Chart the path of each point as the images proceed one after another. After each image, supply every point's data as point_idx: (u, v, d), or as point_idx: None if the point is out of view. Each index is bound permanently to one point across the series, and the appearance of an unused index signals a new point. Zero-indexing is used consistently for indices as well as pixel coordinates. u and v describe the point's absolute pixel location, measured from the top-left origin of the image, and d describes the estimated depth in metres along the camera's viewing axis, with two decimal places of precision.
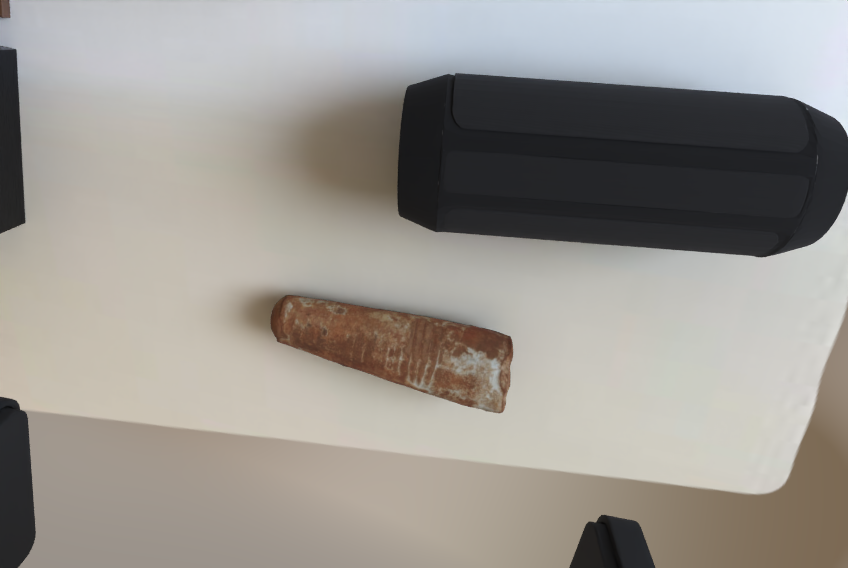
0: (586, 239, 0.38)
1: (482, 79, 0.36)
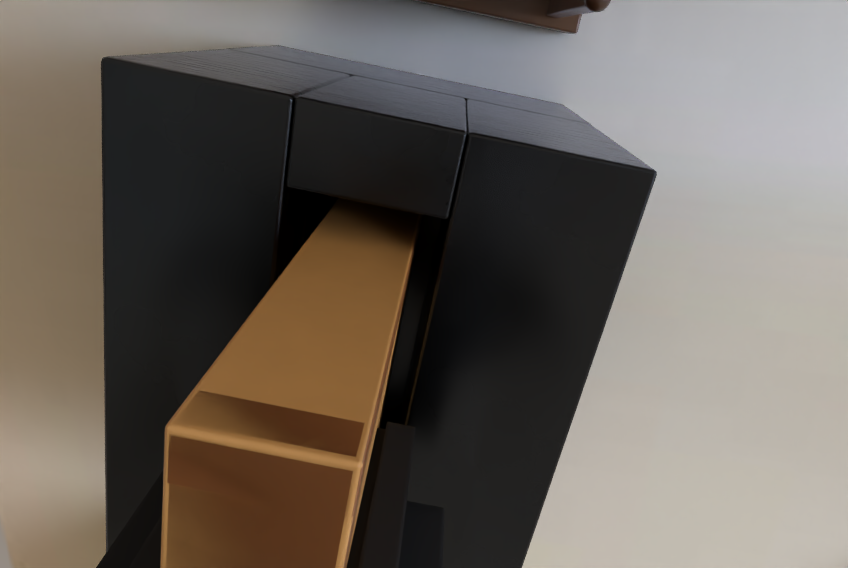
0: None
1: None
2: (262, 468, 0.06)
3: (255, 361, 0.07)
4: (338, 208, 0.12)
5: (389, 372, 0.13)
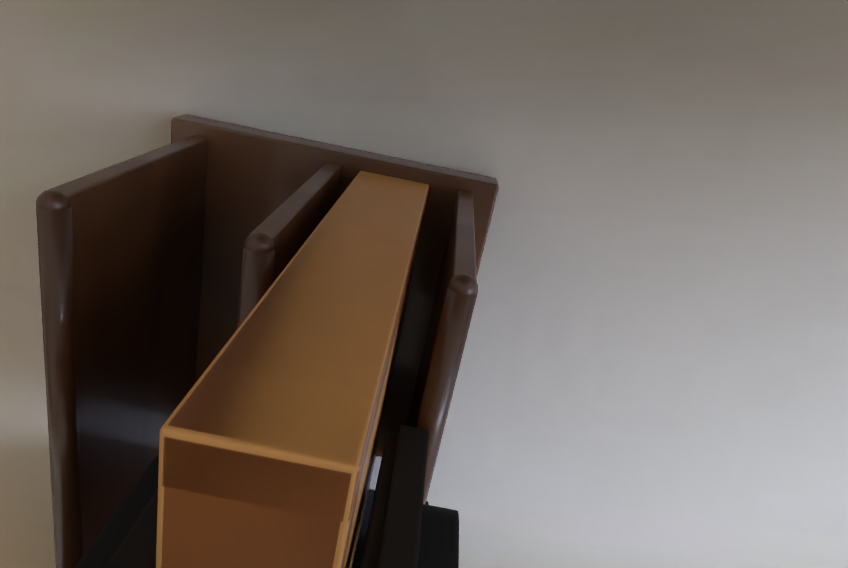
0: None
1: None
2: (257, 474, 0.05)
3: (252, 363, 0.07)
4: (338, 208, 0.12)
5: (389, 373, 0.13)
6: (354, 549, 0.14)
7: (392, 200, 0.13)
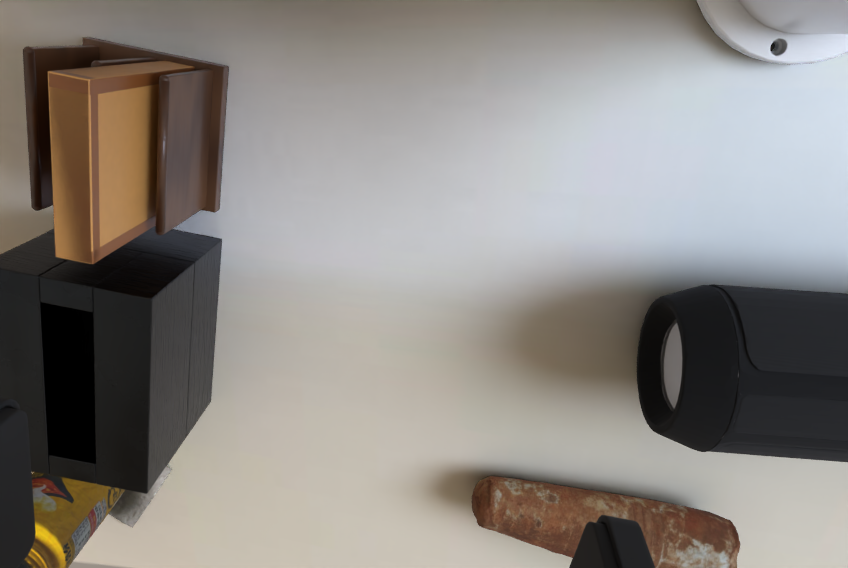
0: None
1: (764, 304, 0.34)
2: (68, 82, 0.26)
3: (75, 71, 0.27)
4: (137, 63, 0.33)
5: None
6: (153, 207, 0.34)
7: (165, 66, 0.34)
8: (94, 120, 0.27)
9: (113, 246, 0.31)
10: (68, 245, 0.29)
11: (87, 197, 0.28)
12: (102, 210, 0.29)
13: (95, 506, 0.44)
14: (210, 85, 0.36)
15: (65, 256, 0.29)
